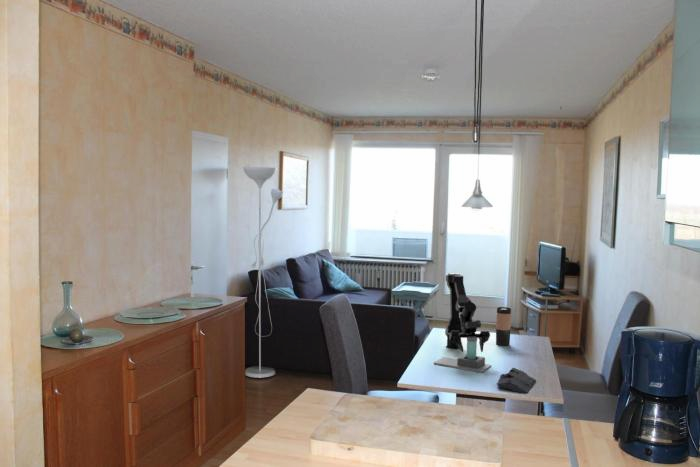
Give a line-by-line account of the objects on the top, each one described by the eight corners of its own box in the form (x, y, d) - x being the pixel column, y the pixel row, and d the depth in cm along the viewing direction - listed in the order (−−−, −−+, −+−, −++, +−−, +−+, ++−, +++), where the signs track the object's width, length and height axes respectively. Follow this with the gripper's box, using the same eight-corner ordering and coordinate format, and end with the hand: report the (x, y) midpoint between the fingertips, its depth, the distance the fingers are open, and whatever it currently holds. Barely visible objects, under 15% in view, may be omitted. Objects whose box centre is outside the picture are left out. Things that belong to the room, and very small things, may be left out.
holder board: (433, 364, 277) (434, 355, 277) (443, 358, 287) (443, 350, 287) (482, 372, 265) (483, 364, 265) (490, 366, 275) (491, 358, 275)
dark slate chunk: (490, 389, 243) (491, 378, 243) (502, 375, 263) (502, 365, 263) (528, 395, 236) (528, 384, 236) (537, 381, 256) (537, 370, 256)
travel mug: (508, 343, 322) (510, 307, 321) (511, 346, 314) (512, 309, 313) (494, 342, 323) (495, 306, 321) (496, 345, 315) (498, 309, 314)
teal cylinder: (463, 364, 276) (464, 336, 275) (471, 362, 278) (472, 335, 277) (471, 366, 272) (472, 339, 271) (478, 365, 274) (479, 337, 273)
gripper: (451, 313, 277) (456, 342, 266) (489, 314, 278) (496, 342, 268) (446, 326, 285) (451, 354, 275) (484, 326, 286) (490, 355, 276)
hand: (472, 351), depth 273 cm, fingers open, 9 cm apart
